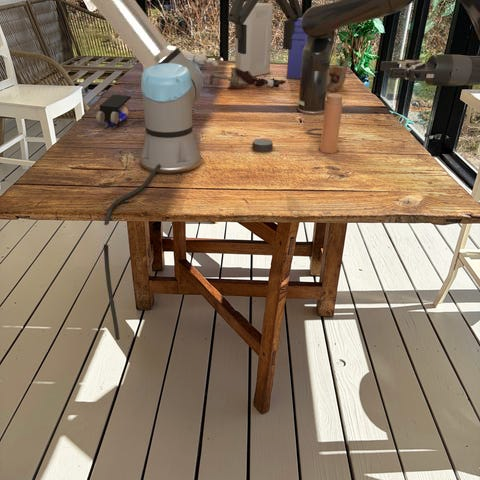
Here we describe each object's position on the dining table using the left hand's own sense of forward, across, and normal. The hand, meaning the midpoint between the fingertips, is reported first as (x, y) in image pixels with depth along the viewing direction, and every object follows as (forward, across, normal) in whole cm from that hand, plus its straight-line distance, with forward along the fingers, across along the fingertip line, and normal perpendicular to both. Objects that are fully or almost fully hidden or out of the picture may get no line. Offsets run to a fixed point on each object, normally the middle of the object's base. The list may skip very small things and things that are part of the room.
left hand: (265, 51), depth 120 cm
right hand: (+4, +26, -16) cm, 31 cm away
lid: (+24, 0, 0) cm, 24 cm away
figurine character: (+26, -28, +41) cm, 56 cm away
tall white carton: (+26, +51, +84) cm, 102 cm away
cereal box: (+26, +66, +64) cm, 95 cm away
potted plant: (+26, +64, +44) cm, 82 cm away
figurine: (+26, +33, +61) cm, 74 cm away
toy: (+26, +29, +108) cm, 115 cm away
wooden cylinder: (+26, +16, -10) cm, 32 cm away
